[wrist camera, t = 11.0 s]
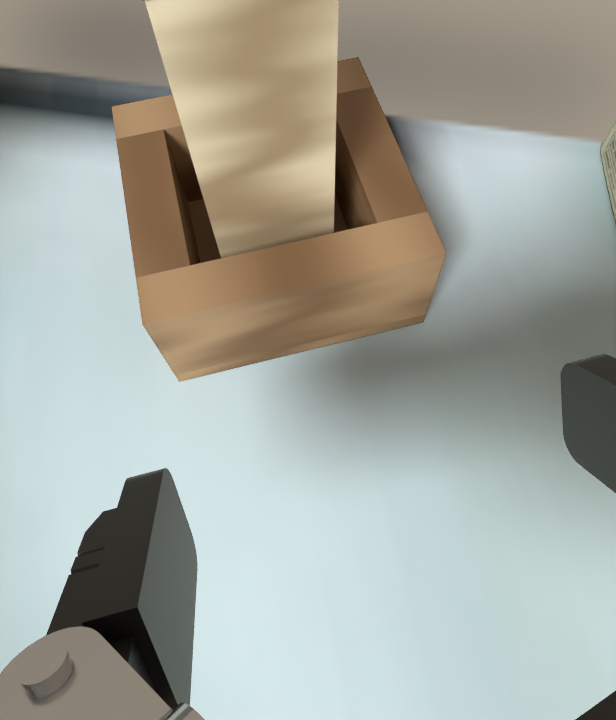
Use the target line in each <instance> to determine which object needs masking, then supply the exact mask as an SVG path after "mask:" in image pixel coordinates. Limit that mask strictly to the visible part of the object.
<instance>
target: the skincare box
mask: <svg viewBox="0 0 616 720" xmlns="http://www.w3.org/2000/svg"><path fill="white" fill-rule="evenodd" d="M601 156H602V162H603V166H604V172H605V177H606V181H607V186H608V191H609V195H610V199H611V204H612V208H613V212H614V216H615V220H616V122H615V124H614V126H613V127H612V129H611V131H610V133H609V134H608V136H607V138H606V139H605V141H604V143H603V145H602V147H601Z"/></svg>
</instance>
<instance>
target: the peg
mask: <svg viewBox="0 0 616 720" xmlns="http://www.w3.org/2000/svg"><path fill="white" fill-rule="evenodd" d="M145 3H146V7H147V10H148V13H149V17H150V20H151V23H152V27H153V30H154V33H155V37H156V40H157V44H158V47H159V50H160V54H161V57H162V60H163V64H164V67H165V70H166V74H167V77H168V80H169V84H170V87H171V91H172V94H173V98H174V101H175V104H176V108H177V111H178V114H179V118H180V121H181V125H182V128H183V131H184V135H185V138H186V141H187V145H188V148H189V151H190V155H191V158H192V162H193V165H194V168H195V172H196V175H197V178H198V182H199V185H200V189H201V192H202V195H203V199H204V202H205V205H206V209H207V212H208V216H209V219H210V222H211V226H212V229H213V232H214V236H215V239H216V243H217V246H218V249H219V253H220V256H221V258H225V257H230V256H234V255H238V254H243V253H247V252H252V251H256V250H260V249H265V248H269V247H274V246H278V245H283V244H287V243H291V242H296V241H300V240H305V239H309V238H313V237H318V236H322V235H327V234H331V233H334V197H335V151H336V104H337V55H338V12H339V10H338V9H339V7H338V6H339V0H145Z"/></svg>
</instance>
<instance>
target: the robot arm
mask: <svg viewBox="0 0 616 720" xmlns="http://www.w3.org/2000/svg"><path fill="white" fill-rule="evenodd" d="M561 395H562V417H563V435H564V440H565V443H566V446H567V448H568V450H569V452H570V454H571V455H572V457H573V458H574V459H575V461H576V462H577V463H578V464H580V465H581V466H582V467H583V468H585V469H586V470H587V471H588V472H590V473H591V474H592V475H594V476H595V477H596V478H597V479H599V480H600V481H601V482H602V483H604V484H605V485H606V486H607V487H609V488H610V489H611V490H612V491H614V492H615V493H616V359H615V358H613V357H611V356H608V355H604V354H602V355H598V356H594V357H590V358H586V359H583V360H579V361H575V362H571V363H567V364H566V365H565V366H564V367H563V369H562V371H561ZM196 583H197V556H196V549H195V544H194V540H193V536H192V533H191V530H190V527H189V524H188V521H187V518H186V515H185V513H184V510H183V507H182V504H181V501H180V498H179V495H178V492H177V489H176V486H175V484H174V481H173V478H172V476H171V474H170V472H169V470H168V469H167V468H164V469H161V470H157V471H153V472H149V473H145V474H142V475H138V476H134V477H130V478H127V479H126V481H125V484H124V487H123V490H122V494H121V497H120V500H119V503H118V507H117V508H115V509H111V510H107V511H104V512H102V514H101V515H100V516H99V517H98V518H97V519H96V520H95V522H94V523H93V524H92V525H91V526H90V527H89V528H88V530H87V531H86V532H85V534H84V537H83V539H82V542H81V545H80V547H79V550H78V557H76V558H75V561H74V563H73V566H72V568H71V575H69V576H68V579H67V582H66V584H65V587H64V590H63V592H62V595H61V598H60V600H59V603H58V605H57V608H56V611H55V613H54V616H53V619H52V621H51V624H50V627H49V629H48V632H47V635H46V636H45V637H43V638H41V639H39V640H37V641H36V642H34V643H33V644H31V645H30V646H28V647H27V648H26V649H24V650H23V651H22V652H21V653H19V654H18V655H17V656H16V657H15V658H14V659H13V660H12V661H11V662H10V663H9V664H8V665H7V666H6V667H5V668H4V670H3V671H2V672H1V674H0V720H204V719H203V718H202V717H201V716H200V715H199V714H198V713H197V712H196V711H195V710H194V709H193V708H192V707H190V691H191V673H192V655H193V637H194V619H195V601H196ZM576 720H616V691H615V692H613V693H612V694H611V695H609V696H608V697H606V698H605V699H604V700H602V701H601V702H599V703H598V704H597V705H595V706H594V707H592V708H591V709H590V710H588V711H587V712H586V713H584V714H583V715H581V716H580V717H579V718H577V719H576Z"/></svg>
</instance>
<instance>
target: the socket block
mask: <svg viewBox="0 0 616 720" xmlns="http://www.w3.org/2000/svg"><path fill="white" fill-rule="evenodd" d="M112 112H113V119H114V127H115V134H116V141H117V148H118V155H119V162H120V169H121V176H122V183H123V190H124V197H125V204H126V211H127V218H128V225H129V232H130V239H131V246H132V253H133V260H134V268H135V275H136V282H137V289H138V296H139V303H140V310H141V317H142V324H143V326H144V327H145V329H146V330H147V332H148V334H149V335H150V337H151V338H152V340H153V341H154V343H155V345H156V346H157V348H158V349H159V351H160V352H161V354H162V355H163V357H164V359H165V360H166V362H167V363H168V365H169V366H170V368H171V369H172V371H173V373H174V374H175V376H176V377H177V379H178V380H179V382H180V381H184V380H188V379H192V378H196V377H200V376H204V375H208V374H212V373H217V372H221V371H225V370H229V369H233V368H237V367H241V366H245V365H249V364H253V363H258V362H262V361H266V360H270V359H274V358H278V357H282V356H286V355H290V354H295V353H299V352H303V351H307V350H311V349H315V348H319V347H323V346H327V345H331V344H336V343H340V342H344V341H348V340H352V339H356V338H360V337H364V336H368V335H372V334H377V333H381V332H385V331H389V330H393V329H397V328H401V327H405V326H409V325H414V324H418V323H422V322H423V321H424V318H425V315H426V312H427V309H428V306H429V303H430V300H431V297H432V294H433V292H434V289H435V286H436V283H437V280H438V277H439V274H440V271H441V268H442V265H443V262H444V259H445V256H446V251H445V249H444V247H443V244H442V242H441V240H440V238H439V235H438V233H437V231H436V229H435V227H434V224H433V222H432V220H431V218H430V215H429V213H428V211H427V209H426V206H425V204H424V202H423V200H422V198H421V195H420V193H419V191H418V189H417V186H416V184H415V182H414V180H413V178H412V175H411V173H410V171H409V169H408V166H407V164H406V162H405V160H404V158H403V155H402V153H401V151H400V149H399V146H398V144H397V142H396V140H395V137H394V135H393V133H392V131H391V129H390V126H389V124H388V122H387V120H386V117H385V115H384V113H383V111H382V109H381V106H380V104H379V102H378V100H377V97H376V95H375V94H374V91H373V89H372V86H371V84H370V82H369V80H368V77H367V75H366V73H365V71H364V68H363V66H362V64H361V62H360V60H359V58H358V57H357V58H352V59H347V60H342V61H337V104H336V151H335V197H334V233H331V234H327V235H322V236H318V237H313V238H309V239H305V240H300V241H296V242H291V243H287V244H283V245H278V246H274V247H269V248H265V249H260V250H256V251H252V252H247V253H243V254H238V255H234V256H230V257H225V258H221V256H220V253H219V249H218V246H217V243H216V239H215V236H214V232H213V229H212V226H211V222H210V219H209V216H208V212H207V209H206V205H205V202H204V199H203V195H202V192H201V189H200V185H199V182H198V178H197V175H196V172H195V168H194V165H193V162H192V158H191V155H190V151H189V148H188V145H187V141H186V138H185V135H184V131H183V128H182V125H181V121H180V118H179V114H178V111H177V108H176V104H175V101H174V98H173V95H168V96H163V97H158V98H153V99H148V100H143V101H138V102H133V103H128V104H123V105H118V106H113V107H112Z"/></svg>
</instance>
